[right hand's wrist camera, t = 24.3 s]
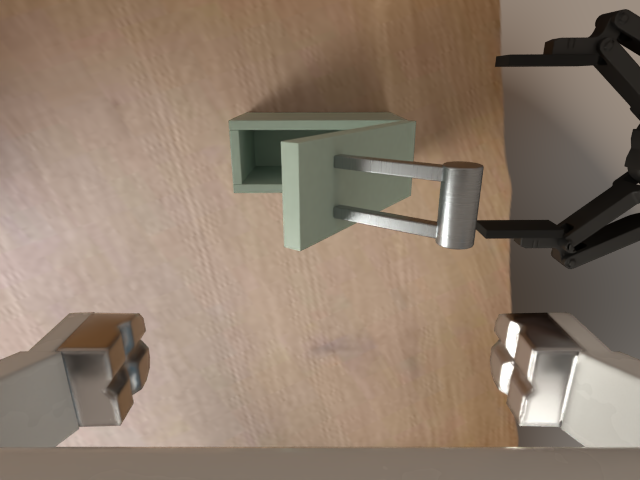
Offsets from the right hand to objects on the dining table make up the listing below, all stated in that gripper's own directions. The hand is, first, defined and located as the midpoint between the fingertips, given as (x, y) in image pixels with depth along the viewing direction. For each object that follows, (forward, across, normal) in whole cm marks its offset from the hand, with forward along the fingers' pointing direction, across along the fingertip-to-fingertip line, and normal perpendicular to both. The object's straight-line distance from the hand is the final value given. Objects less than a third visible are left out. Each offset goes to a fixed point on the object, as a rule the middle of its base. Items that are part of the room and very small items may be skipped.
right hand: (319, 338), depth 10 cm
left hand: (+27, +14, 0) cm, 31 cm away
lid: (+19, +2, 0) cm, 19 cm away
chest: (+34, 0, 0) cm, 34 cm away
